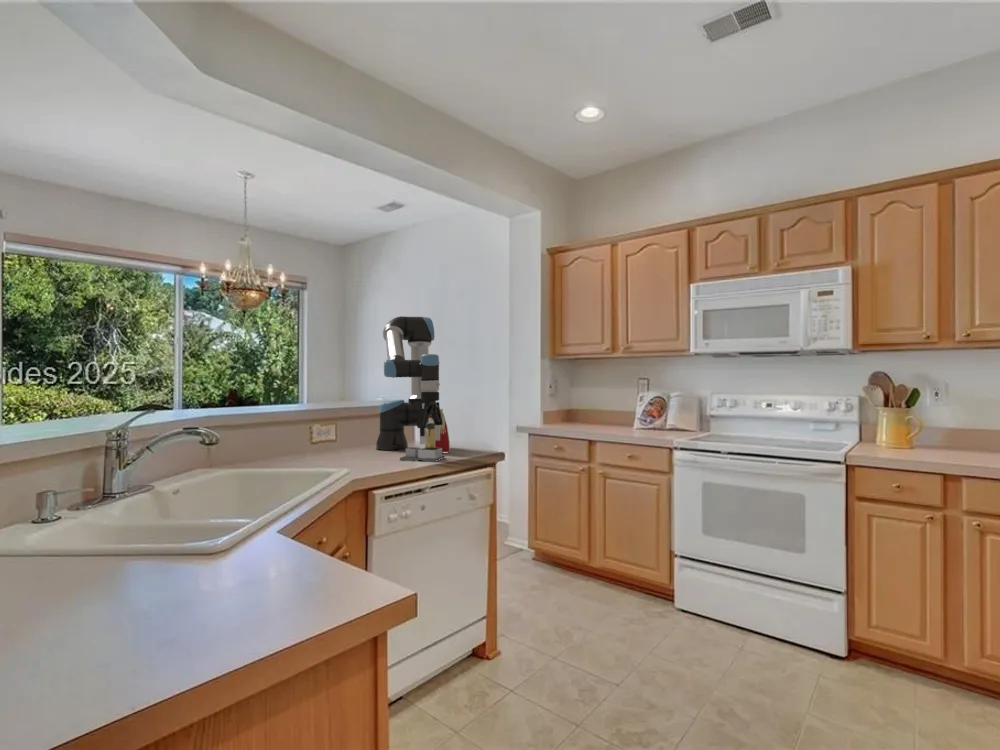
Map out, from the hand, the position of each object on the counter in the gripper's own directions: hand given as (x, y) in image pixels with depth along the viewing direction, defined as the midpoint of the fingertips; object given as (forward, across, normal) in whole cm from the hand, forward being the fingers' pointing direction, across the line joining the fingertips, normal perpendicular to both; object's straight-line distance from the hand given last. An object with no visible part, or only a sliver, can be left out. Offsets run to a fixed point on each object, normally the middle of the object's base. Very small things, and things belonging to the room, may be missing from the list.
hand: (430, 442), depth 215 cm
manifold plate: (+7, 0, +4) cm, 8 cm away
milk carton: (+7, +20, +6) cm, 22 cm away
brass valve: (+6, 0, 0) cm, 6 cm away
